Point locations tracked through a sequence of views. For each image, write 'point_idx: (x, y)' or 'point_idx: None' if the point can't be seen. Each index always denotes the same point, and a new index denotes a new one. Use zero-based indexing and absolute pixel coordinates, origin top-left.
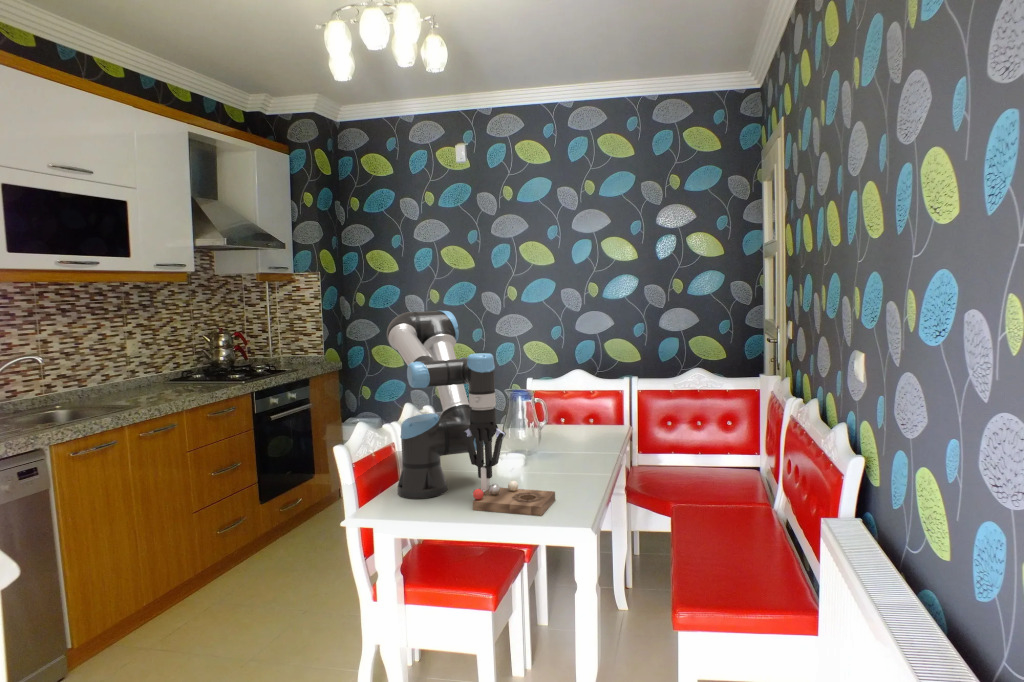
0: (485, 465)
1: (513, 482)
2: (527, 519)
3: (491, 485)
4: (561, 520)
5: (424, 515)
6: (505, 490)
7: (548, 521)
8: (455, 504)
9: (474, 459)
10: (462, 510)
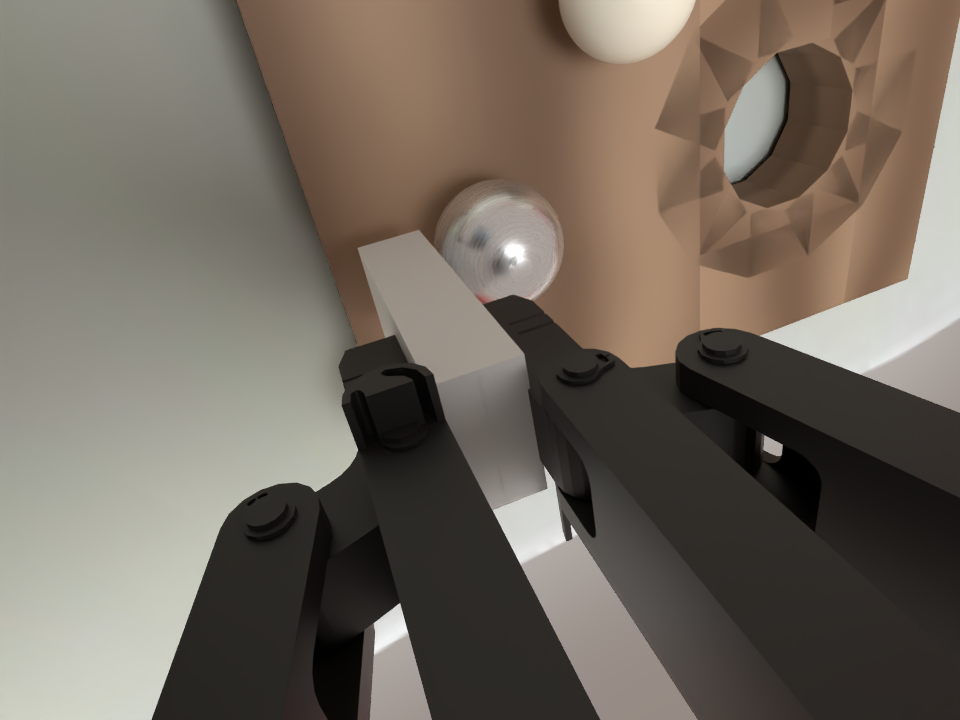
0: (562, 511)
1: (677, 23)
2: (780, 338)
3: (497, 297)
4: (952, 245)
5: (139, 670)
6: (504, 20)
7: (889, 298)
8: (122, 403)
9: (366, 680)
10: (305, 462)
